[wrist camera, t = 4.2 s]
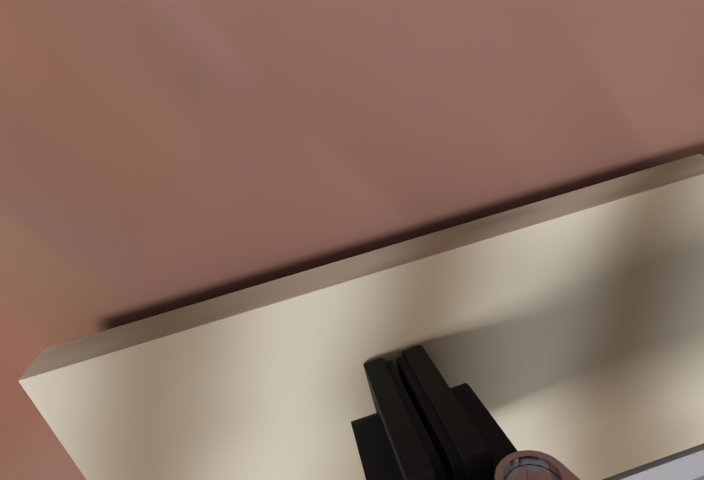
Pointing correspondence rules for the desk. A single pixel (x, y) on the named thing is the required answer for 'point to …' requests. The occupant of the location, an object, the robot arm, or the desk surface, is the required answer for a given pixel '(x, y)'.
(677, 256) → the plank
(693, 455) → the grey rectangular panel
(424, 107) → the desk surface
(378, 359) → the robot arm
